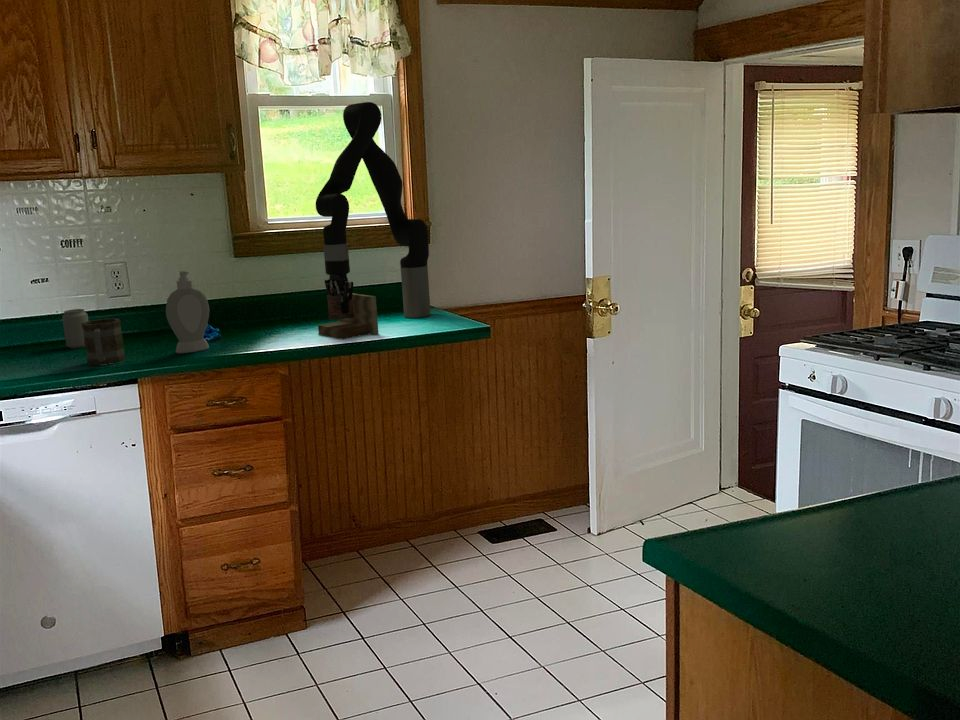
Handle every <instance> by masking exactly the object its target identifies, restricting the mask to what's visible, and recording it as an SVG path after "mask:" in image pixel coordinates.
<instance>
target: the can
mask: <svg viewBox="0 0 960 720" xmlns="http://www.w3.org/2000/svg"><path fill="white" fill-rule="evenodd" d="M61 318H62V324H63V325H62V326H63V332H64V339H65V345H66V347H68V348H69V349H72V350H75V349H84V348H85V344H84V332H83V328H82V324H81V323H84V322H87V321H89V316H88V313H87V312H86V311H85V309H84V308H73V309H68V310H65V311H63V314H62V317H61Z"/></svg>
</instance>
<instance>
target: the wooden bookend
mask: <svg viewBox="0 0 960 720" xmlns="http://www.w3.org/2000/svg"><path fill="white" fill-rule="evenodd" d="M348 294H349V293H348ZM352 302H353V314H354V318H348V319H339V321H334V322H328V323H322V324H317V327H318V328H317V329H318V335H320V336H325V337H330V338H334V339H339V340H344V339H350V338H356V337H357V338H358V337H360V336H366V335H367V336H368V335H373V336H377V335H379V333H380V332H379V321H378V310H377V309H378V308H377V296H375V295H369V294H368V295H367V294H361V293H354V292H353V296H352Z"/></svg>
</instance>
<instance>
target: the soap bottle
mask: <svg viewBox="0 0 960 720" xmlns="http://www.w3.org/2000/svg"><path fill="white" fill-rule="evenodd" d="M178 272H179V277H178V280H176V289H175V290H174V291H172V292H170V294H169V296H168V297H167V299H166V304H165V305H166V306H165V317H166V320H167V322H168V325H170V328H171V330H172V331H173V333H174V334H175V336H176V338H177V340H178V342H177V344H176V347H175V353H176V354H188V353H190V354H191V353H196V352H202V351H206V350H208V349H210V346H209V343H208V342H207V340H206V339H205V338H204V336H205V333H206V331H207V326H208V322H209V317H210V305H209V301H208V299H207V297H206V295H205V293H204V292H202V290H200V289H199V288H195V287H193V280H192V279H190V276H188V275H189V271H188V270H187V269H184V270H179V271H178Z"/></svg>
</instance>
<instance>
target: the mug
mask: <svg viewBox="0 0 960 720" xmlns="http://www.w3.org/2000/svg"><path fill="white" fill-rule="evenodd" d="M121 323H122V320H121V319H120V318H99V319H92V320H88V321H87V322H84V323H81V324H82V328H83V332H84V344H85V347H84V348H85V352H86V361H87V363H88V364H90V365H101V364H102V365H103V364H109V363H116V362H120V361H123V360H125V359H126V360H127V357H126V353H125V345H124V336H123V332H122V324H121ZM123 362H124V361H123ZM87 363H86V364H87ZM88 364H87V365H88ZM90 365H89V366H90Z"/></svg>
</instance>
